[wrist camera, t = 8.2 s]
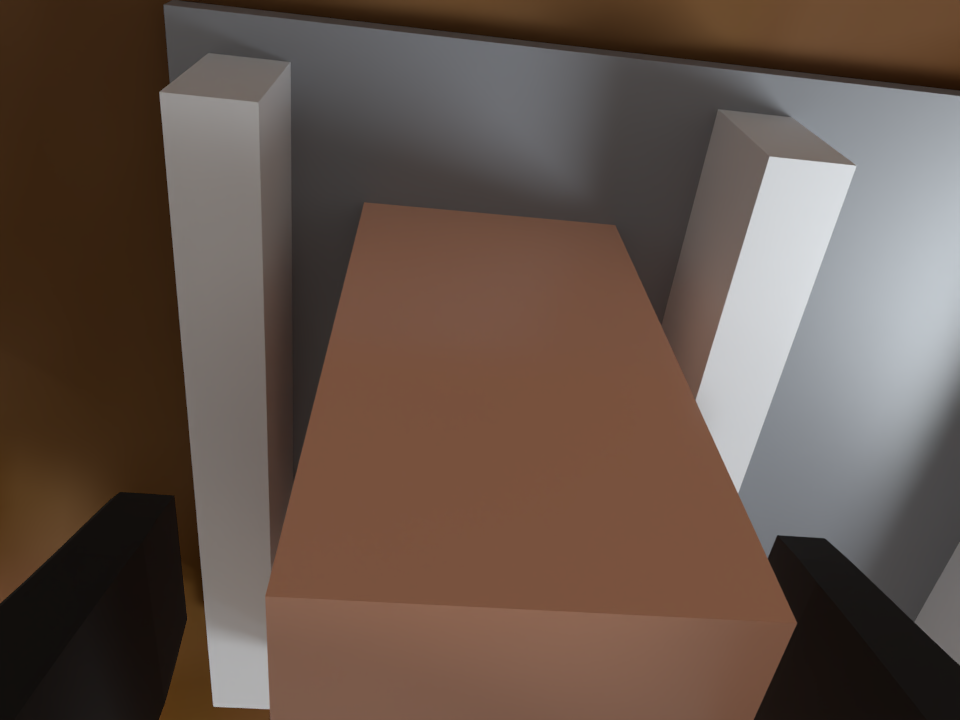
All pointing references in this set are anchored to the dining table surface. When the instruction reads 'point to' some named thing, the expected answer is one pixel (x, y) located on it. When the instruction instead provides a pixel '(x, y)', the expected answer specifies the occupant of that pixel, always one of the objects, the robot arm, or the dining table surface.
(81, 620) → the robot arm
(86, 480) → the dining table surface
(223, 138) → the rack
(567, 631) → the terracotta flat plank
